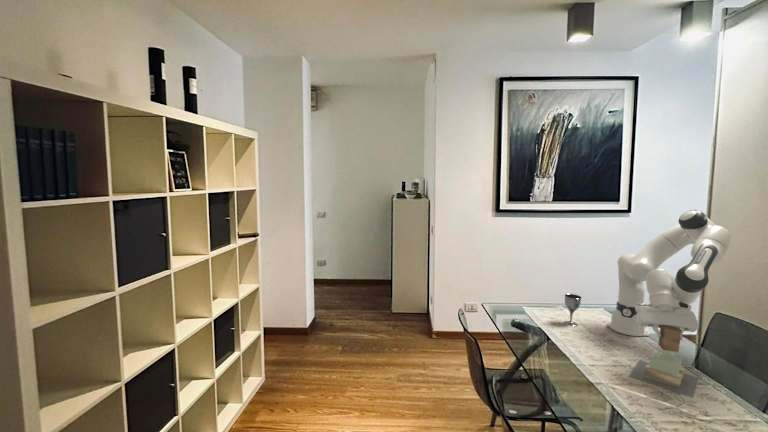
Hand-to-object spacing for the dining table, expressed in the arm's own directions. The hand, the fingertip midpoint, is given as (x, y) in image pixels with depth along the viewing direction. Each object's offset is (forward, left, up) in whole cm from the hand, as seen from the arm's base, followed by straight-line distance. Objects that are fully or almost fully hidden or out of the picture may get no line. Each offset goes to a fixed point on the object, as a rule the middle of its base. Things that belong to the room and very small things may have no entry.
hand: (670, 338), depth 153 cm
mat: (0, -1, -17) cm, 17 cm away
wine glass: (-34, -47, -17) cm, 60 cm away
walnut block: (0, 0, -4) cm, 4 cm away
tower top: (0, -1, -12) cm, 12 cm away
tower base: (0, -1, -16) cm, 16 cm away
